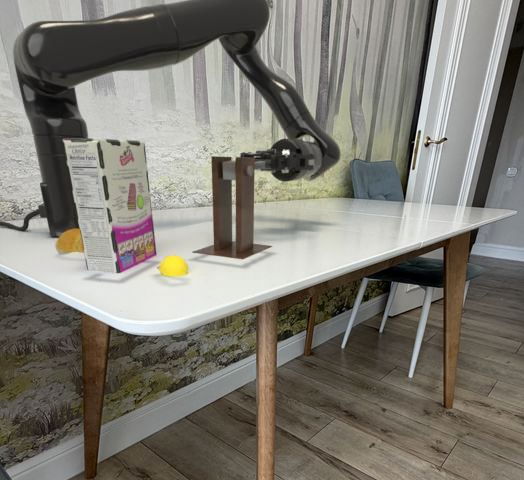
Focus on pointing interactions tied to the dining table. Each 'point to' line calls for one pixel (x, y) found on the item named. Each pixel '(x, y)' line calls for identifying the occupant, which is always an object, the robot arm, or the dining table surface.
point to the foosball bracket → (224, 211)
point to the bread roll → (69, 242)
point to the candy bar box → (111, 202)
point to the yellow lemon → (173, 266)
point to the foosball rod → (230, 168)
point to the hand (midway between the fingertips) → (257, 162)
